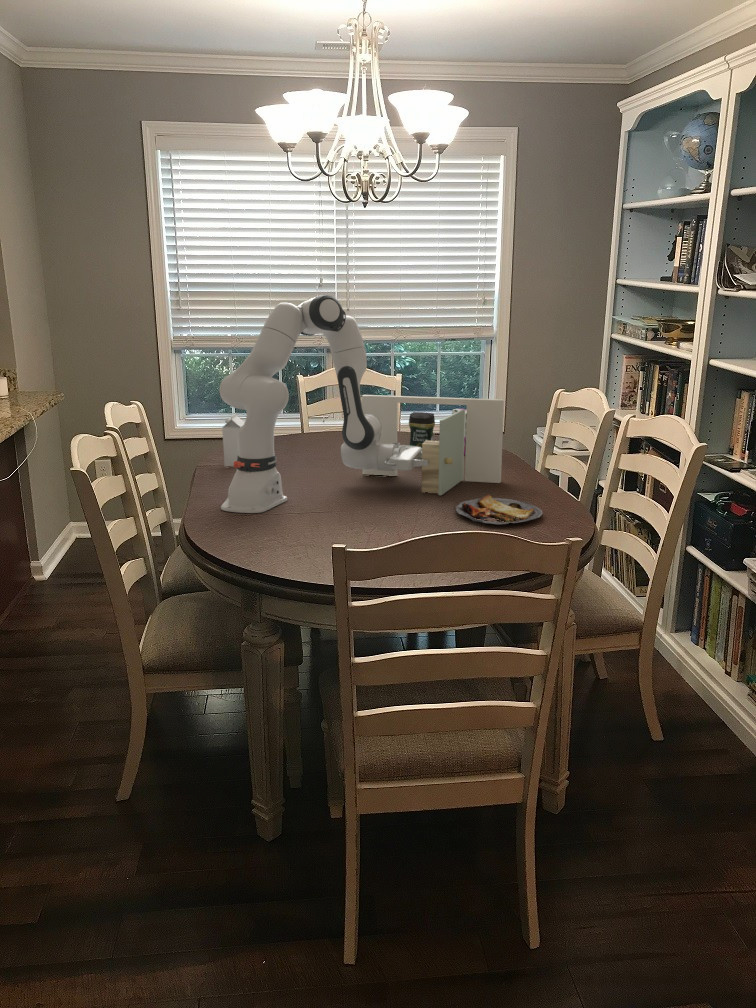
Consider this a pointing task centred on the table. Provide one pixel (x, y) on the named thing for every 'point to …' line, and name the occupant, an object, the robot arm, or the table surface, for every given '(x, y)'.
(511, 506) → the food plate
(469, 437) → the door frame
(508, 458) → the table surface
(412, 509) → the table surface
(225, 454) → the milk carton
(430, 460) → the doorstop block
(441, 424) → the door
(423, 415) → the coffee jar
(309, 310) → the robot arm
